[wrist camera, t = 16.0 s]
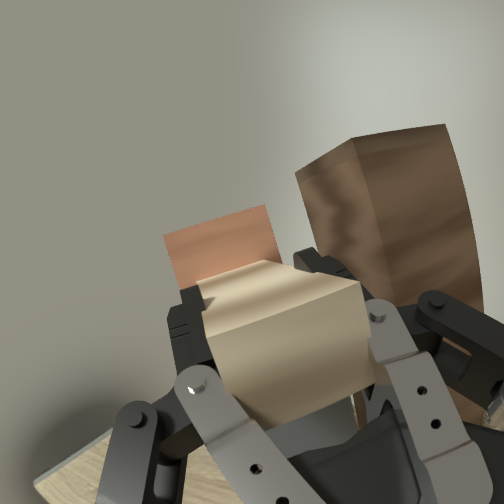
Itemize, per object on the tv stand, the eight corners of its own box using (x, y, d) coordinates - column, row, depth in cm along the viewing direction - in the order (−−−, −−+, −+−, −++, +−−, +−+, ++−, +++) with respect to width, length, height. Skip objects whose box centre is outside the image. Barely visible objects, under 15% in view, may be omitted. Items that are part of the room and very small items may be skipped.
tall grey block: (374, 538, 18) (333, 322, 16) (291, 573, 17) (184, 375, 15) (334, 481, 28) (281, 293, 26) (266, 508, 27) (185, 325, 25)
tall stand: (474, 472, 20) (445, 123, 18) (411, 517, 19) (351, 137, 16) (422, 433, 30) (372, 154, 27) (366, 466, 29) (294, 172, 26)
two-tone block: (407, 365, 8) (360, 158, 8) (209, 449, 7) (122, 224, 7) (272, 290, 24) (249, 212, 24) (195, 316, 23) (168, 237, 23)
